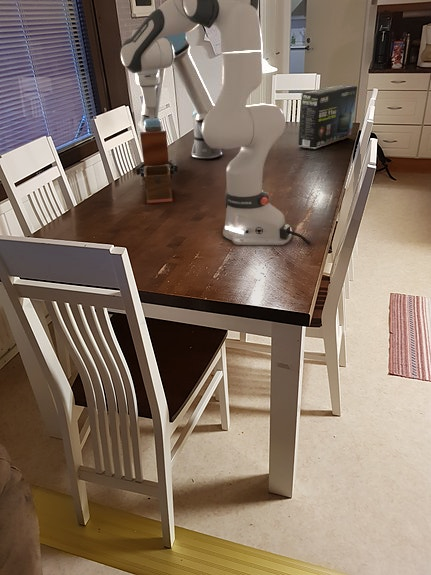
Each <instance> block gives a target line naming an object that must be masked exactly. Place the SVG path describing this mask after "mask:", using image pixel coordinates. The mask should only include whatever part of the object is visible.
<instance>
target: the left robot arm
mask: <svg viewBox="0 0 431 575" xmlns="http://www.w3.org/2000/svg"><path fill="white" fill-rule="evenodd" d="M163 38H166V39H168V40H169V41H170V42H171V44H172V46H173V48H174V60H173V63H172V65H171V66H172V67H173V69H174V71H175V73H176V75H177V77H178V79H179V82H180V83H181V86H182V88H183V89H184V91H185V93H186V95H187V97H188V99H189V101H190V103H191V105H192V107H193V110H192V122H193V138H194V139H193V144H192V149H191V158H193V159H195V160H200V161H202V160H204V161H207V160H208V161H209V160H215V159H216V160H217V159H219V158H221V157H222V156H223V151H222V149H214V148H211V147H209V146H208V145H207V144H206V142H205V141H204V138H203V136H202V123H203V120H204V118H205V116H206V115H207V114H208V113H209V112H210V111H211V110H212V108H213V107H214V105H215V104H214V102H213V100H212V98H211V96H210V94H209V92H208V90H207V88H206V85H205V84H204V81H203V79H202V77H201V75H200V73H199V70H198V68H197V67H196V64H195V62H194V60H193V58H192V56H191V53H190V49H191V45H190V43H189V41H188V39H187V33H182V34H176V35H170V36H166V37H163ZM159 73H160V83H158V84H157V88H156V108H154V120H150V117H149V111H148V109H146V107H145V103H144V100H143V101H142V109H141V115H140V119H139V121H138V128H139V131H140V132H145V127H154V126H161V131H163V125H162V121H161V118H159V112H160V111H159V110H160V104H161V100H162V99H161V98H162V92H163V86H164V81H165V80H164V79H165V73H166V68H165V69H159ZM162 165H169V169H170V177H171V179H173V175H174V174H175V173H178V172H179V167H178V165H177V164H176V163H175V162H173V159H170V160H169V164H162ZM148 166H159V165H148ZM144 167H145V166H144V161H141V162H140V163H139V164H138V166H137V167H136V168H135V173H136V175H137V176H139V175H140V177H141V178H144Z"/></svg>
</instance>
